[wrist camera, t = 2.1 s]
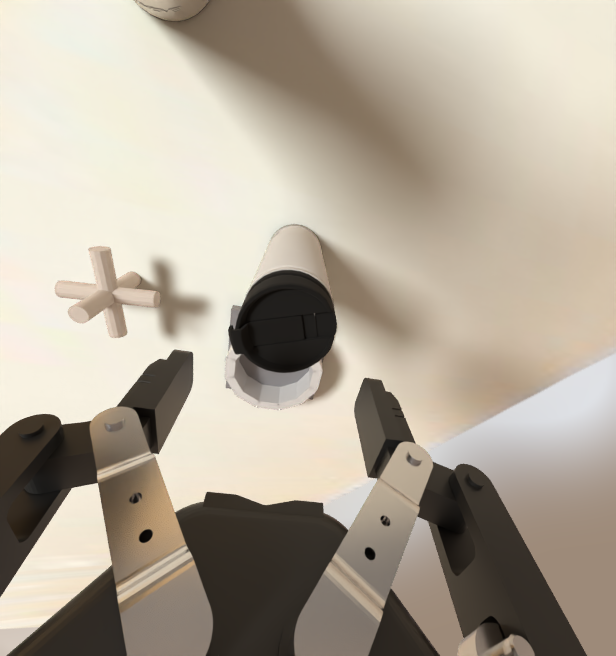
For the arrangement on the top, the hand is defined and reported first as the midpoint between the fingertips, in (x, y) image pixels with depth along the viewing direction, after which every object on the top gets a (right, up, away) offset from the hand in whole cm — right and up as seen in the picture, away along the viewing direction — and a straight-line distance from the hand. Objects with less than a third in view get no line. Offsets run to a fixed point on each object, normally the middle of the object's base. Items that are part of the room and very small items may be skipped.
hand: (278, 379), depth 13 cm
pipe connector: (-20, +9, +22) cm, 31 cm away
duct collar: (-3, -1, +28) cm, 28 cm away
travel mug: (0, +12, +21) cm, 24 cm away
